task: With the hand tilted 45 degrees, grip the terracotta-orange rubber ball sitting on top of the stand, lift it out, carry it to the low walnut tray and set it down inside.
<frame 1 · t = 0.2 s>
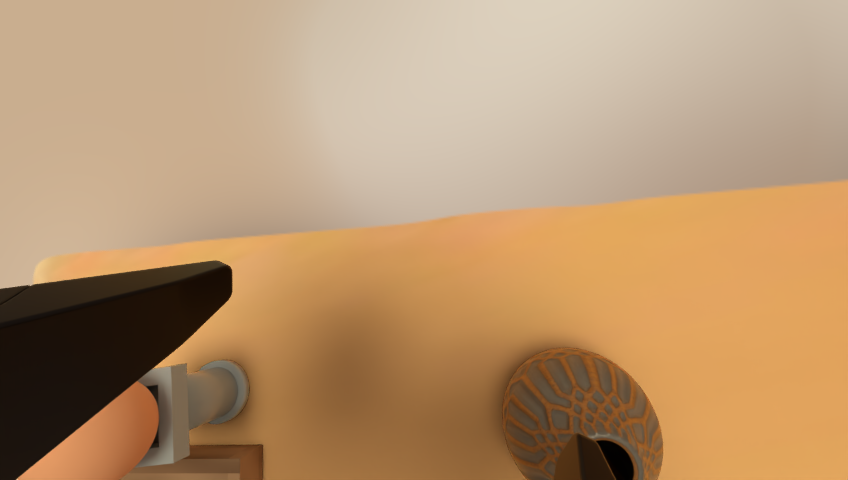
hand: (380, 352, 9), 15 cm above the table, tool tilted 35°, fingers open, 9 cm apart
ball: (92, 432, 17), point 8 cm above the table, touching stand
stand: (222, 390, 25), on the table
vase: (560, 402, 22), on the table
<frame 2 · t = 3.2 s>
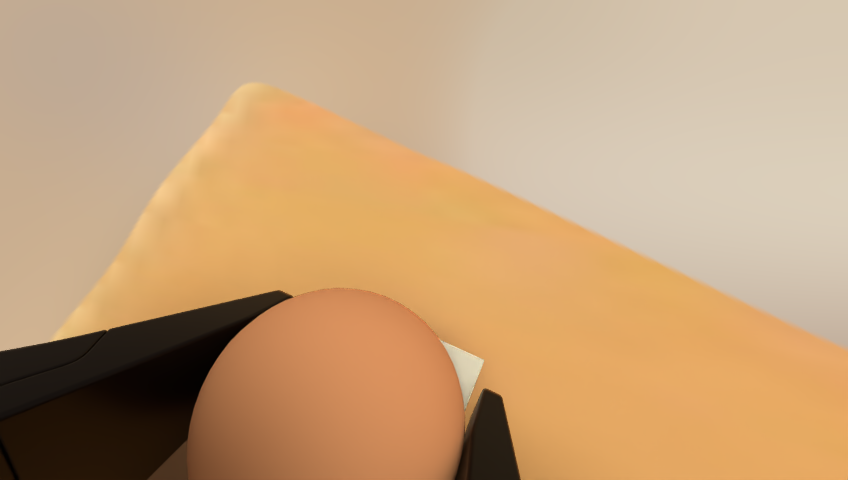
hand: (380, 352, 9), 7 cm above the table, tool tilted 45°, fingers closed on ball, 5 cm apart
ball: (337, 416, 7), point 8 cm above the table, touching stand, gripper
stand: (401, 397, 15), on the table
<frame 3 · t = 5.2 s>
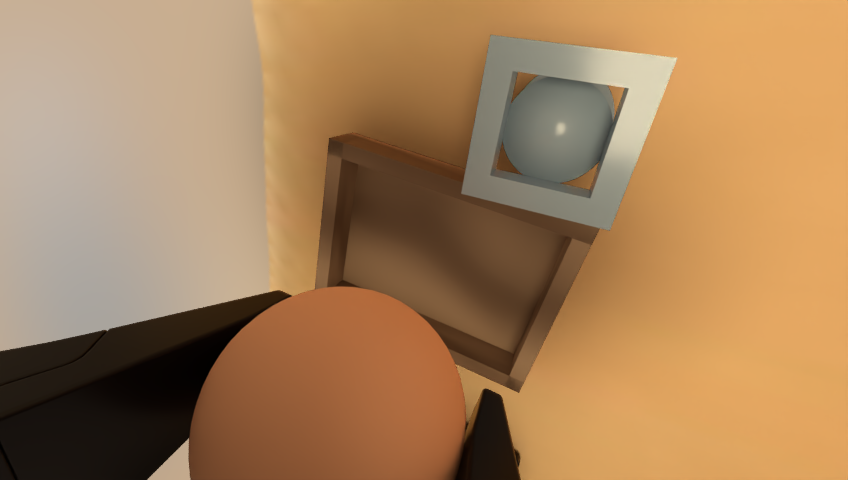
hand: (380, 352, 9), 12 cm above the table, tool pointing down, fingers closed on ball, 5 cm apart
ball: (338, 414, 7), point 14 cm above the table, tilted 46°, touching gripper
stand: (561, 116, 16), on the table
tray: (441, 253, 21), on the table
when the fingers open (3 cm above the table, at t = 7.5 s): ball drops 2 cm, resting on tray.
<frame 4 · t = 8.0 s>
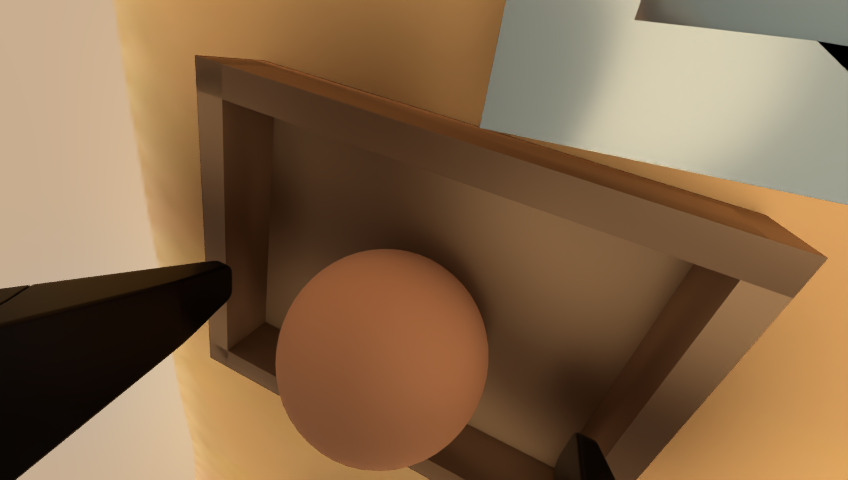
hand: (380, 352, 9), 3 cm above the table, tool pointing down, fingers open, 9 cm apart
ball: (385, 350, 9), point 3 cm above the table, tilted 45°, touching tray
tray: (427, 287, 11), on the table
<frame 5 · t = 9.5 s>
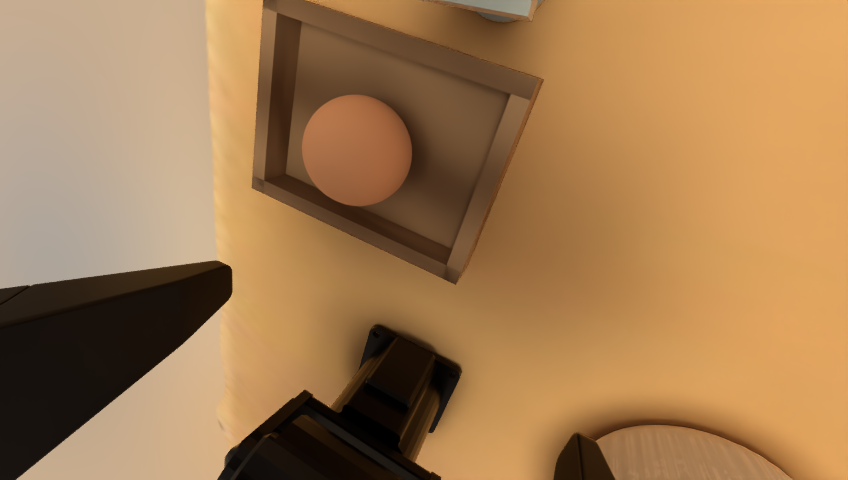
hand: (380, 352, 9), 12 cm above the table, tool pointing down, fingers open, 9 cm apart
ball: (358, 152, 17), point 3 cm above the table, tilted 45°, touching tray
tray: (386, 138, 20), on the table
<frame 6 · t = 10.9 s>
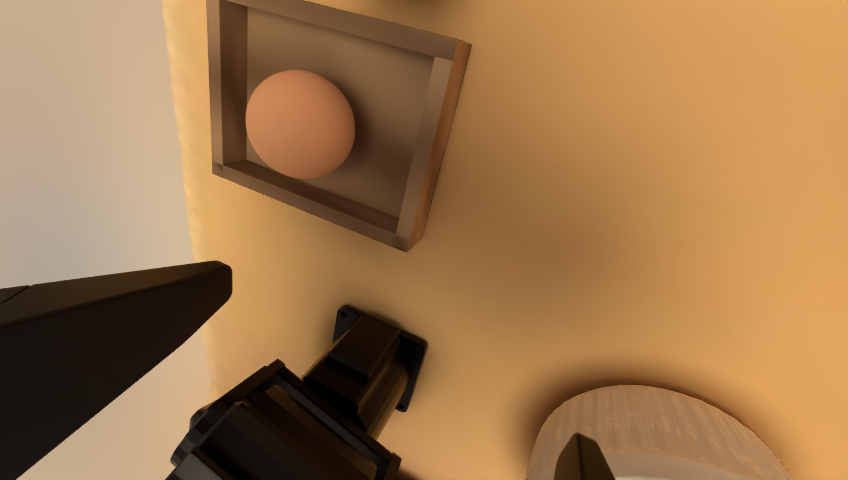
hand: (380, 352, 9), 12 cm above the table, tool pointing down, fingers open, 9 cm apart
ball: (302, 126, 18), point 3 cm above the table, tilted 45°, touching tray
ramekin: (643, 453, 21), on the table
tray: (335, 116, 20), on the table
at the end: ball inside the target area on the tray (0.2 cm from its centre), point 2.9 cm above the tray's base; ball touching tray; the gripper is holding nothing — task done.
